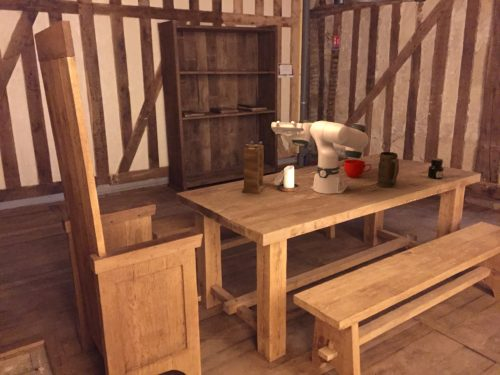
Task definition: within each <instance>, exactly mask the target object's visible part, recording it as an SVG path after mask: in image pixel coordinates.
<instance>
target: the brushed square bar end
mask: <svg viewBox="0 0 500 375" xmlns="http://www.w3.org/2000/svg"><path fill="white" fill-rule="evenodd" d="M283 171H284V170H281V171H280V172H279V173H278V174H277V176H276V177H275V179H274V182H273V185H276V186H279V185H280V184H281V183H282V182H283V180H284V179H283V174H282V172H283Z"/></svg>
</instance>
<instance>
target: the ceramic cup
mask: <svg viewBox="0 0 500 375" xmlns="http://www.w3.org/2000/svg"><path fill="white" fill-rule="evenodd" d="M343 166H344V167H343V169H344V172H345V174H346V175H347V177H348V178H351V179H359V178H360V177H361V176H362V174H365V173H367V172H369V171H370V170H371V169H372V165H371V164H370V163H367V164H366V161H363V160H360V159H355V160H353V159H346V160H344V162H343ZM367 166H369V168H368V169H367V170H365V168H366V167H367Z"/></svg>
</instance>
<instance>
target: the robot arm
mask: <svg viewBox="0 0 500 375" xmlns="http://www.w3.org/2000/svg"><path fill="white" fill-rule="evenodd" d="M270 128H271V130H272V131H273V132H274V134H275V135H278V136H282V137H284V140H285V141H286V142H287V143H288V144H290V145H294V146H298V147H305V146H307V145H308V144H309V143H310V140H311V137H312V138H313V140H314V142H315V144H316V149H317V153H318V154H317V166H316V173H315V174H314V179H313V185H311V187H310V188H311V189H313V190H314V192H316V193H319V194H328V195H329V194H342V193H344V191H345V190H346V189H347V188H348V186H347V184H344V177H343V175H341V174H340V169H341V165H339V151H344V155H345V157H346V158H347V159H348V160H360V158H362V156H363V150H364V148H366V147H367V146H368V144H369V136H368V134H367V128H366V126H365V125H364V124H362V123H357V122H356V123H351V124H350V125H349V126H347V125H345V124H342V123H339V122H332V121H326V120H319V121H314V120H312V119H309V118H305V117H304V118H302V119H300V120H299V121H298V122H296V121H293V120H292V121H291V122H282V121H281V122H280V120H277V121H276V122H275V121H272V122H271V125H270Z"/></svg>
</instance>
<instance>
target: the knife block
mask: <svg viewBox="0 0 500 375" xmlns="http://www.w3.org/2000/svg"><path fill="white" fill-rule="evenodd" d="M254 143H255V142H254V140H253V141H252V140H251V141H250V142H249V143H247V144H245V147H244V148H243V189H242V190H241V193H243V194H253V195H255V194H256V195H260V194H261V193H262V191H263V190H265V187H266V186H265V185H264V164H265V163H264V162H265V160H264V155H265V154H264V150H265V149H264V147H265V145H263V141H259V142H258V144H254Z"/></svg>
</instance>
